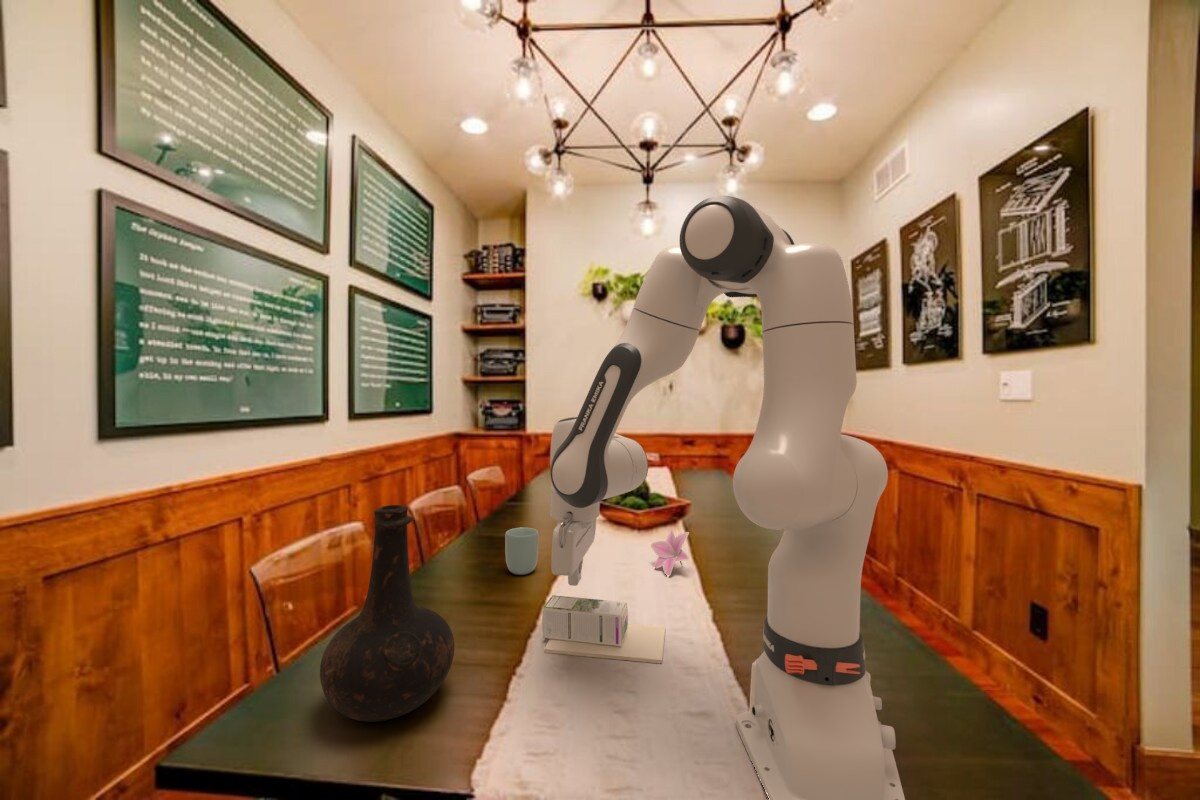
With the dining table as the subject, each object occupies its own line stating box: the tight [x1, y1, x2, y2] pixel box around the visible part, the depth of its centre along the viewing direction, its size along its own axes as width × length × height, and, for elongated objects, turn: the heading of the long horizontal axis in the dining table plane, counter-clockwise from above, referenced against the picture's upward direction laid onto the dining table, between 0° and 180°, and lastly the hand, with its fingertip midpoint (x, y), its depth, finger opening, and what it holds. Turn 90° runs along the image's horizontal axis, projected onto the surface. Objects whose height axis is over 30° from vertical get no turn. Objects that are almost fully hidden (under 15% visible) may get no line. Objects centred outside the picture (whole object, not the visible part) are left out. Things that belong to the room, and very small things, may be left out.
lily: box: [650, 529, 690, 576], centre depth 128 cm, size 12×12×10 cm
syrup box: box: [541, 595, 629, 646], centre depth 92 cm, size 6×6×14 cm
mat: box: [543, 623, 666, 665], centre depth 92 cm, size 12×20×1 cm, turn 80°
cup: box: [504, 526, 539, 576], centre depth 126 cm, size 8×8×10 cm
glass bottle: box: [319, 504, 455, 723], centre depth 74 cm, size 18×18×28 cm
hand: (574, 582), depth 93 cm, fingers closed
